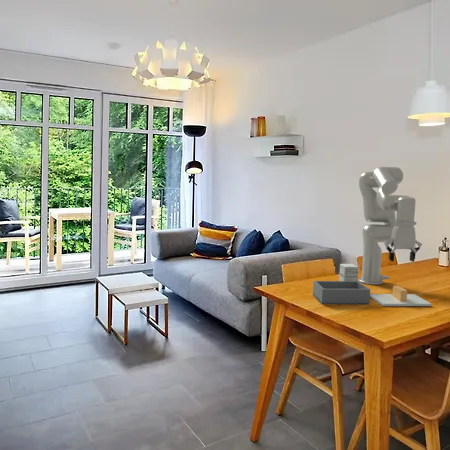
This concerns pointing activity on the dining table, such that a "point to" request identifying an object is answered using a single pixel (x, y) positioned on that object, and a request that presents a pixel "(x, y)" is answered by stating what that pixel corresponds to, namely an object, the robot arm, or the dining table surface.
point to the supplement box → (348, 272)
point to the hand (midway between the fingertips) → (401, 260)
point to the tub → (341, 292)
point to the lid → (399, 298)
